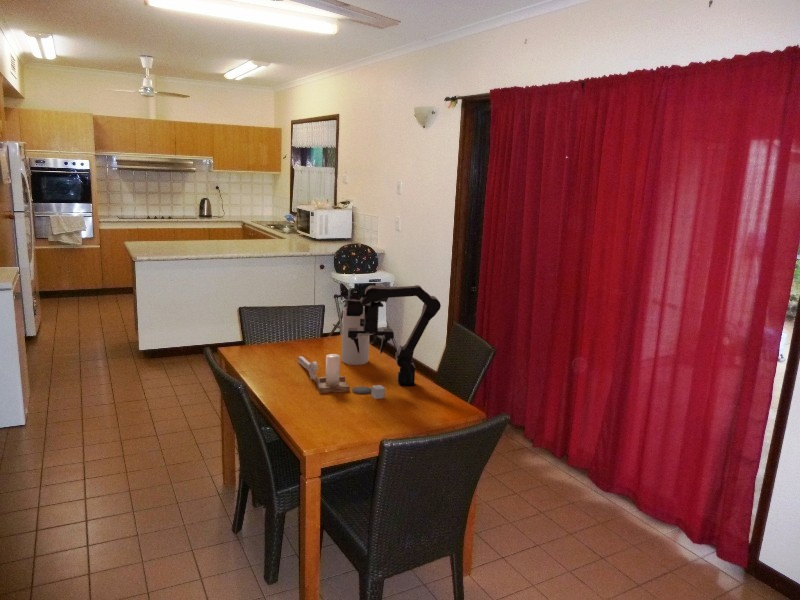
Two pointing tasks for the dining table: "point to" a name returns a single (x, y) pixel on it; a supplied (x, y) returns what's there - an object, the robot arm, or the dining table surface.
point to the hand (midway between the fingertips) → (369, 353)
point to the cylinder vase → (348, 345)
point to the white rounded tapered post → (332, 370)
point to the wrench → (309, 366)
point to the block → (378, 392)
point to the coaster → (362, 390)
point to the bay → (341, 388)
